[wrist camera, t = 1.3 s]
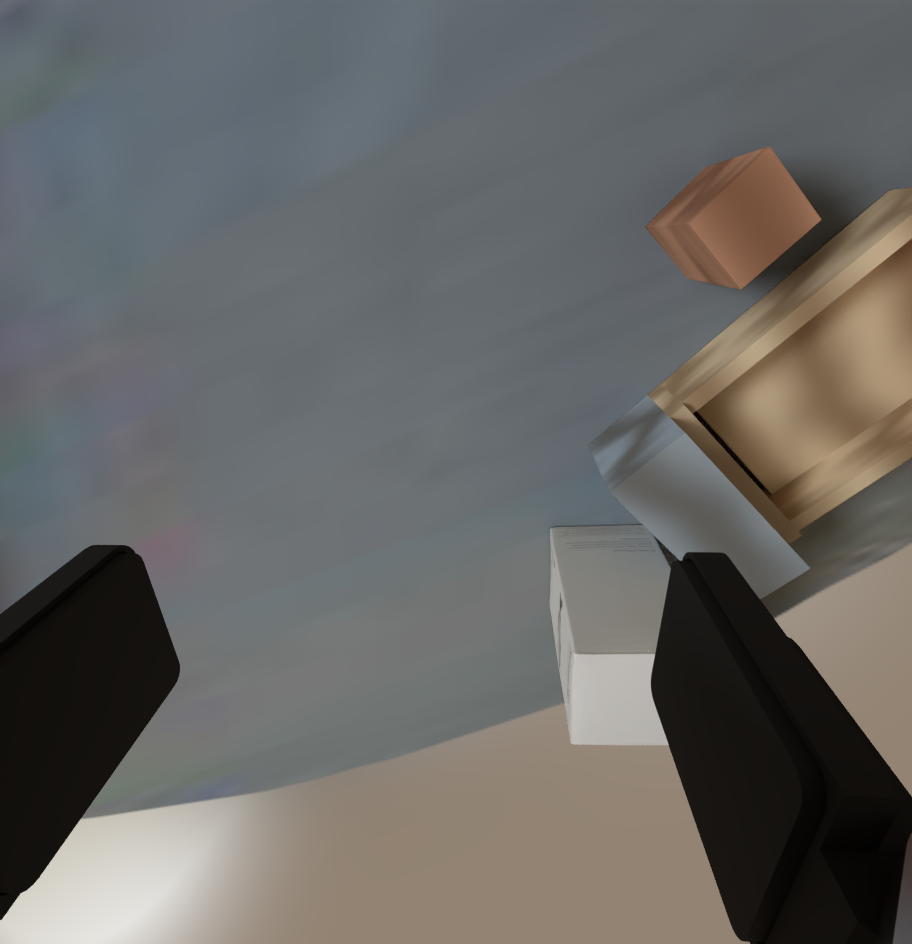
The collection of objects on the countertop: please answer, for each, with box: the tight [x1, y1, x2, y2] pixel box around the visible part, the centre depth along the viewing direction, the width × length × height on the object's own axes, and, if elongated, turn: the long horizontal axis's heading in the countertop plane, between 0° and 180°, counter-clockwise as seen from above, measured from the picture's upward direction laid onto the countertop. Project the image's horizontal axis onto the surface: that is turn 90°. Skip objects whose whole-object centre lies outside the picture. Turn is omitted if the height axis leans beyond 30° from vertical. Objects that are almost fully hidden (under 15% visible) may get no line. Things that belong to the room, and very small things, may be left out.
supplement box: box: [550, 525, 671, 745], centre depth 33 cm, size 7×7×13 cm
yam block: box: [645, 146, 821, 290], centre depth 25 cm, size 4×4×7 cm
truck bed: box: [588, 188, 912, 600], centre depth 29 cm, size 21×12×7 cm, turn 136°
